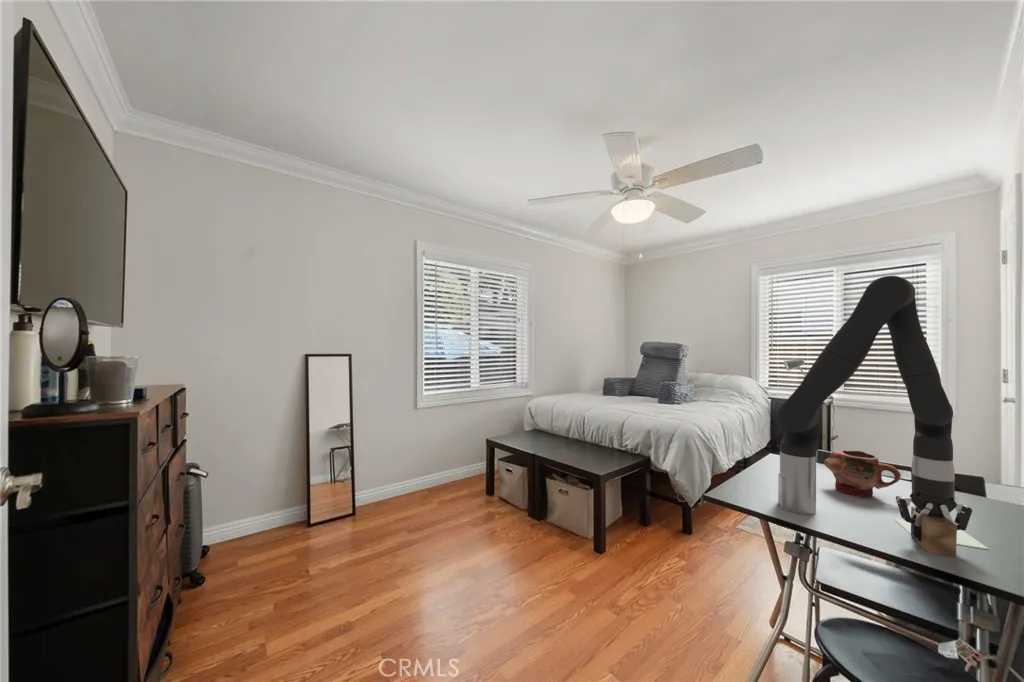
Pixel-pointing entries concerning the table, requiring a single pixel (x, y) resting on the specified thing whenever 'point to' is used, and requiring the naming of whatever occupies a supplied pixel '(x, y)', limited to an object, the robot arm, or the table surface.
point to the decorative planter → (858, 472)
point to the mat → (962, 536)
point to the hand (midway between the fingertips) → (932, 541)
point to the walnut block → (938, 535)
